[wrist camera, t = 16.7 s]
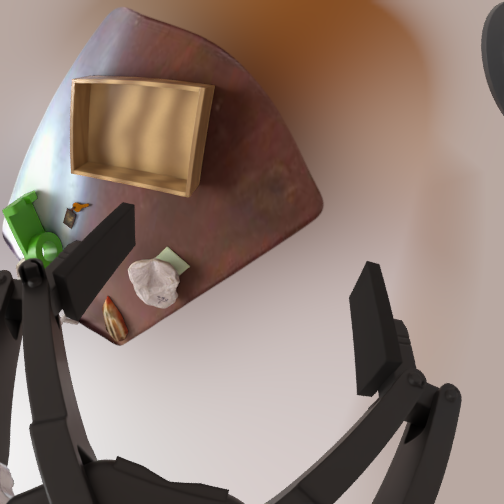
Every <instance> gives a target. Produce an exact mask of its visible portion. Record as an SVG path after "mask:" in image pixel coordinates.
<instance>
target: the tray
mask: <svg viewBox="0 0 504 504" xmlns="http://www.w3.org/2000/svg"><path fill="white" fill-rule="evenodd" d="M214 89H215V86H214V85H208V84H201V83H193V82H185V81H177V80H167V79H156V78H143V77H125V76H86V77H81V78H76V79H72V88H71V109H70V159H71V174H77V175H82V176H88V177H93V178H98V179H103V180H108V181H113V182H118V183H123V184H128V185H133V186H138V187H143V188H148V189H152V190H157V191H162V192H166V193H171V194H176V195H180V196H185V197H190V196H191V195H192V193H193V192H194V191H195V189H196V188H197V187H198V186H199V182H200V175H201V168H202V161H203V154H204V148H205V141H206V135H207V129H208V123H209V117H210V111H211V105H212V100H213V94H214Z"/></svg>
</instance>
